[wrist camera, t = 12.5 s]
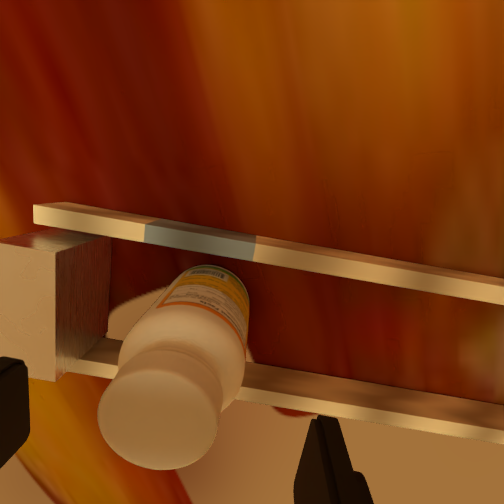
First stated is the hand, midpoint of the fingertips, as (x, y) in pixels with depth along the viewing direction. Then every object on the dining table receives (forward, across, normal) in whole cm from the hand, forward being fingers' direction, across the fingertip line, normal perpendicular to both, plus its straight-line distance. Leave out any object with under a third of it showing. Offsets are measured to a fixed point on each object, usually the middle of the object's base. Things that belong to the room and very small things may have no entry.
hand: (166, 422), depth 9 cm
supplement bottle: (+10, 0, 0) cm, 10 cm away
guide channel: (+10, -6, 0) cm, 11 cm away
